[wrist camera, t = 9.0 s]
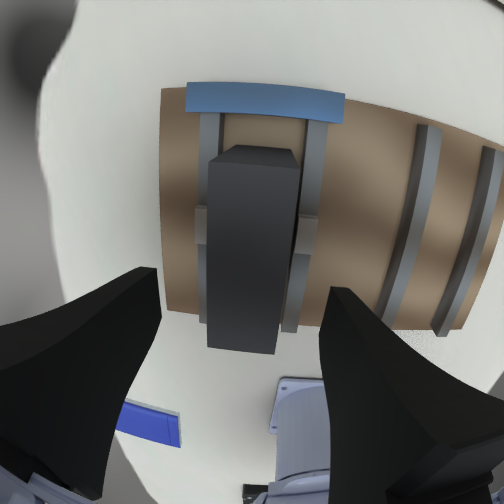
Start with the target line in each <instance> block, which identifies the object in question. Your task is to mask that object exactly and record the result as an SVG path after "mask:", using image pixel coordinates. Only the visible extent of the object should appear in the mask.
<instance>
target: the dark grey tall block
mask: <svg viewBox="0 0 504 504" xmlns="http://www.w3.org/2000/svg"><path fill="white" fill-rule="evenodd" d="M299 178H300V167H299V165H298V163H297V161H296V159H295V157H294V155H293V152H292V150H291V149H285V148H275V147H264V146H252V145H238V144H236V145H235V146H233V147H231V148H230V149H228V150H226V151H225V152H223V153H222V154H220V155H218V156H217V157H215V158H214V159H212V160H211V161H209V162H208V188H207V234H206V303H207V347H211V348H218V349H226V350H234V351H242V352H251V353H261V354H272V355H274V353H275V348H276V342H277V336H278V330H279V323H280V317H281V311H282V304H283V298H284V291H285V285H286V278H287V271H288V264H289V257H290V250H291V242H292V235H293V227H294V219H295V212H296V203H297V195H298V187H299Z"/></svg>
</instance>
